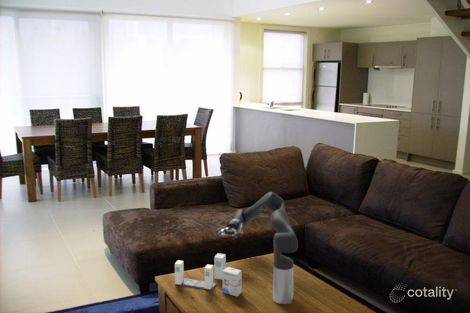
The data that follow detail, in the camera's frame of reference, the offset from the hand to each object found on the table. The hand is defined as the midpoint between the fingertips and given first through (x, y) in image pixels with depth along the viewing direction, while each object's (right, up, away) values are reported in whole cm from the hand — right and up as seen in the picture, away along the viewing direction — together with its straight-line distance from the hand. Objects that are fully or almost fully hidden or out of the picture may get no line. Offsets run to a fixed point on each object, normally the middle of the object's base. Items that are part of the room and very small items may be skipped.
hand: (225, 236), depth 234 cm
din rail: (-15, -22, -13) cm, 30 cm away
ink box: (+4, -24, -21) cm, 32 cm away
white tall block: (-3, -20, -5) cm, 21 cm away
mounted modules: (-15, -21, -15) cm, 31 cm away
